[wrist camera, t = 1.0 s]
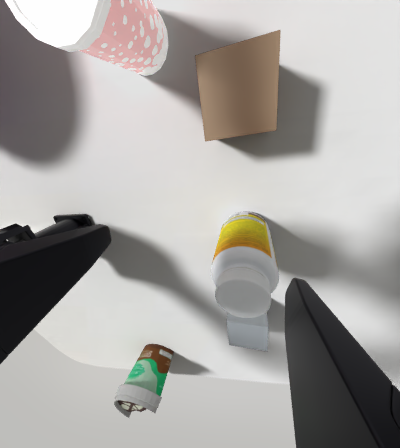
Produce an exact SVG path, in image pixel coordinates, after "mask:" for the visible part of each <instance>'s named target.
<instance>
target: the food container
mask: <svg viewBox="0 0 400 448" xmlns="http://www.w3.org/2000/svg"><path fill="white" fill-rule="evenodd" d="M173 353H174V352H173V351H172V350H170V349H168V348H166V347H164V346H161V345H158V344H148V345H146V346H145V348H144V349H143V351H142V353H141V355H140V356H139V358H138V360H137V362H136V364H135V365H134V367H133V369H132V371H131V373H130V374H129V376H128V378H127V380H126V381H125V383H124V384H123V385H120V386H119V387H118V390H117V393H116V396H115V402H114V405H115V407H116V408H117V409H118V410H119V411H120V412H121V413H122V414H124V415H125V416H127V417H129V416H130V414H131V412H132V411H135V410H137V411H140V412H142V411H144V410H146V409H148V410H150V411H152V412H154V413H155V412H156V410H157V408H158V406H159V403H160V401H161V398H162V397H160V396H161V393H162V390H163V386H164V383H165V379H166V376H167V373H168V369H169V366H170V363H171V359H172V356H173Z"/></svg>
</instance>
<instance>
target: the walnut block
mask: <svg viewBox="0 0 400 448" xmlns="http://www.w3.org/2000/svg"><path fill="white" fill-rule="evenodd" d="M279 52H280V30H278V31H274V32H271V33H268V34H264V35H261V36H258V37H255V38H251V39H248V40H245V41H241V42H238V43H235V44H231V45H228V46H225V47H221V48H218V49H215V50H212V51H208V52H205V53H202V54H198V55H195V60H196V68H197V77H198V85H199V94H200V102H201V110H202V119H203V127H204V136H205V141H211V140H218V139H224V138H230V137H237V136H243V135H250V134H256V133H263V132H269V131H275V130H276V127H277V102H278V77H279Z"/></svg>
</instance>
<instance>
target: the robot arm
mask: <svg viewBox="0 0 400 448" xmlns="http://www.w3.org/2000/svg"><path fill="white" fill-rule="evenodd" d="M53 218H54V220H55V222H56V224H54V225H52V226H49V227H47V228H45V229H43V230H41V231H39V232H37V233H35V234H34V233H33V232H32V231H31V228H30V227H29V226H28V225H26V226H24V227H22V226H20V225H18V224H13V225H11V226H8V227H5V228H3V229H0V364H1V363H2V362H3V361H4V360H5V359H6V358H7V356H8V355H9V354H10V353H11V352H12V351H13V350H14V349H15V348H16V347H17V346H18V344H19V343H20V342H21V341H22V340H23V339H24V338H25V337H26V336H27V335H28V334H29V333H30V332H31V331H32V330H33V329H34V328H35V327H36V325H37V324H38V323H39V322H40V321H41V320H42V319H43V318H44V317H45V316H46V315H47V314H48V313H49V312H50V311H51V310H52V308H53V307H54V306H55V305H56V304H57V303H58V302H59V301H60V300H61V299H62V298H63V297H64V296H65V295H66V294H67V293H68V291H69V290H70V289H71V288H72V287H73V286H74V285H75V284H76V283H77V282H78V281H79V280H80V279H81V278H82V277H83V276H84V274H85V273H86V272H87V271H88V270H89V269H90V268H91V267H92V266H93V265H94V263H95V262H96V261H97V260H98V258H99V257H100V256H101V254H102V253H103V252H104V251H105V249H106V248H107V247H108V245H109V244H110V243H111V235H110V230H109V227H108V226H106V225H102V224H99V225H94V226H92V225H91V222H90V220H89V218H88V216H87V215H86V214H71V215H56V216H54V217H53ZM6 239H7V240H8V241H7V240H6ZM285 341H286V351H287V360H288V370H289V380H290V390H291V400H292V408H293V420H294V429H295V440H296V448H400V391H399V390H398V389H397V388H396V387H395V386H394V385H392V382H391V381H390V380H389V378H388V377H387V376H386V375H385V374H384V373H383V371H382V370H381V369H380V368H379V367H378V366H377V364H376V363H375V362H374V361H373V360H372V358H371V357H370V356H369V355H368V354H367V353H366V351H365V350H364V349H363V348H362V347H361V346H360V344H359V343H358V342H357V341H356V340H355V338H354V337H353V336H352V335H351V334H350V333H349V331H348V330H347V329H346V328H345V327H344V326H343V324H342V323H341V322H340V321H339V320H338V318H337V317H336V316H335V315H334V314H333V313H332V311H331V310H330V309H329V308H328V307H327V306H326V304H325V303H324V302H323V301H322V300H321V298H320V297H319V296H318V295H317V294H316V293H315V291H314V290H313V289H312V288H311V287H310V286H309V284H308V283H307V282H306V281H305V280H302V279H298V278H293V279H292V281H291V283H290V285H289V287H288V289H287V291H286V294H285Z"/></svg>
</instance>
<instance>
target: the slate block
mask: <svg viewBox="0 0 400 448" xmlns="http://www.w3.org/2000/svg"><path fill="white" fill-rule="evenodd" d="M268 328H269V327H268V317H267V312H266V313H264V314H263V315H261V316H258V317H253V318H242V317H237V316H234V315H232V314H230V313H228V314H227V329H228V338H229V345H232V346H238V347H244V348H249V349H255V350H261V351H267V352H268Z"/></svg>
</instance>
